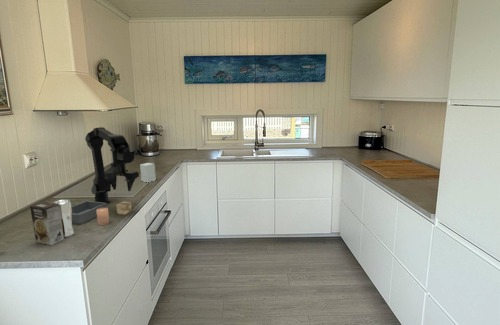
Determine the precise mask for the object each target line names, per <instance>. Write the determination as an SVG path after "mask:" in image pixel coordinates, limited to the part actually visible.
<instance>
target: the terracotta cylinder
mask: <svg viewBox="0 0 500 325" xmlns="http://www.w3.org/2000/svg"><path fill="white" fill-rule="evenodd" d="M96 212H97V217H96V220H97V224H98V226H106V225H109V224H110V217H109V207H108V208H99V209H97V210H96Z"/></svg>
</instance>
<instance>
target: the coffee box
mask: <svg viewBox="0 0 500 325" xmlns="http://www.w3.org/2000/svg"><path fill="white" fill-rule="evenodd" d="M29 207H30V215H31V221H32V226H33V232H34V239H35V242H36V243H38V244H42V245H48V246H53V245H54V244H55V245H56V244H58V243H60V242H62V241H63V240H64V239H65V237H63V229H62V222H61V214H60V207H59V204H57V203H53V202H51V201H50V202H48V201H41V202H38V203H34V204H32V205H29Z"/></svg>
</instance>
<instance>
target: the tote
mask: <svg viewBox="0 0 500 325" xmlns="http://www.w3.org/2000/svg"><path fill="white" fill-rule="evenodd" d="M71 206H72V225H79V226H80V225H83V224H86V223H88V222H90V221H92V220H94V219H97V212H96V210H97V209H99V208H108V209H109V206H108V203H103V202H95V201H94V200H93V201H91V200H84V201H82V202H79V203H77V204H75V205H71Z"/></svg>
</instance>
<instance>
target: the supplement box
mask: <svg viewBox="0 0 500 325" xmlns="http://www.w3.org/2000/svg"><path fill="white" fill-rule="evenodd" d="M155 164H156V163H153V162H152V163H151V162H146V163H140V165H139V169H140V170H139V171H140V178H141V182H142V181H143V182H142V183H146V182H147V184H149V183H152V182H151V181H153V182H156V181H157V177H156V168H155ZM155 180H156V181H155ZM148 182H149V183H148Z"/></svg>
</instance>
